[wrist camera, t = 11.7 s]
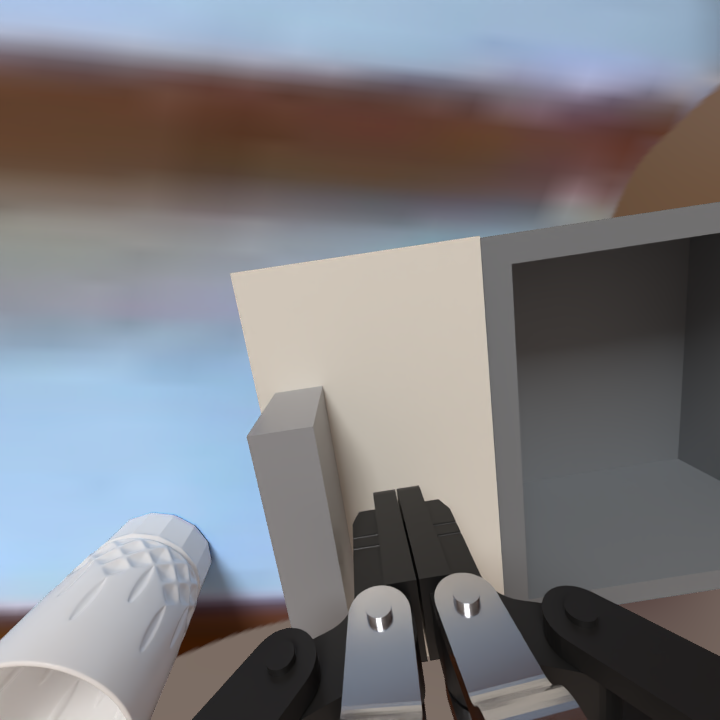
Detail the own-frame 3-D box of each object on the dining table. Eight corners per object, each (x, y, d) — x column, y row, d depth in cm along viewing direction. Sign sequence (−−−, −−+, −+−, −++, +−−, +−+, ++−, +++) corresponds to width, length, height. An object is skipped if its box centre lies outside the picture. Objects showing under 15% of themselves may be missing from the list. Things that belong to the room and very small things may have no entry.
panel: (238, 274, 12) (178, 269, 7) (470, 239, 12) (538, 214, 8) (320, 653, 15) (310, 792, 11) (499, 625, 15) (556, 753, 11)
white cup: (243, 569, 25) (174, 758, 15) (151, 619, 25) (28, 831, 15) (174, 483, 23) (48, 631, 13) (78, 538, 24) (-111, 718, 14)
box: (423, 257, 20) (480, 237, 12) (691, 217, 21) (949, 167, 12) (448, 497, 24) (506, 621, 15) (678, 462, 24) (869, 565, 15)
